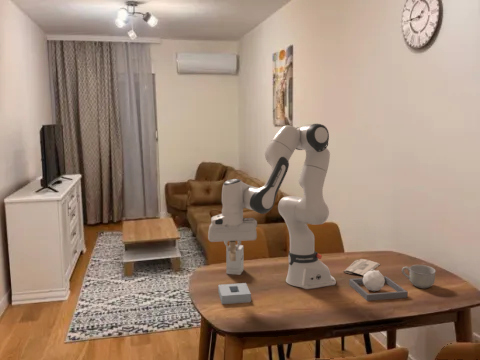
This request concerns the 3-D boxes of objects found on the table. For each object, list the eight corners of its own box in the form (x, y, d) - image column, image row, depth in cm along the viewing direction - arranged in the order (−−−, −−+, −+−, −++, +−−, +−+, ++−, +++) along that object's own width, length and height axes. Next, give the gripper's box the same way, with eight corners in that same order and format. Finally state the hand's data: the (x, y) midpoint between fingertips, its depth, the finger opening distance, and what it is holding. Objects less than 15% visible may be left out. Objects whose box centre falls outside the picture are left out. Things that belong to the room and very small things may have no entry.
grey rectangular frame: (386, 281, 200) (386, 276, 200) (407, 297, 183) (407, 291, 182) (349, 284, 197) (349, 279, 197) (366, 300, 180) (367, 294, 179)
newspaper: (356, 261, 231) (357, 256, 230) (379, 268, 224) (380, 263, 223) (338, 273, 213) (339, 268, 212) (363, 281, 206) (363, 276, 205)
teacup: (438, 285, 196) (439, 268, 194) (429, 292, 188) (430, 274, 187) (407, 277, 205) (408, 261, 204) (397, 284, 197) (398, 267, 196)
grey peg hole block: (245, 290, 191) (245, 282, 190) (250, 302, 179) (250, 293, 179) (218, 292, 189) (218, 284, 188) (221, 304, 177) (221, 295, 177)
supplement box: (241, 275, 210) (240, 249, 208) (226, 274, 211) (225, 248, 209) (244, 269, 217) (243, 245, 215) (229, 268, 218) (229, 244, 217)
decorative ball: (366, 288, 199) (378, 265, 196) (380, 302, 189) (392, 279, 186) (351, 285, 195) (362, 262, 192) (364, 299, 186) (376, 275, 183)
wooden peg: (234, 257, 186) (234, 239, 185) (235, 261, 182) (235, 242, 181) (229, 257, 186) (229, 239, 185) (230, 261, 181) (230, 242, 180)
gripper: (255, 216, 186) (255, 247, 188) (207, 217, 183) (207, 249, 185) (258, 219, 180) (258, 252, 182) (208, 221, 177) (209, 254, 179)
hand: (232, 250), depth 183 cm, fingers closed on wooden peg, 2 cm apart
